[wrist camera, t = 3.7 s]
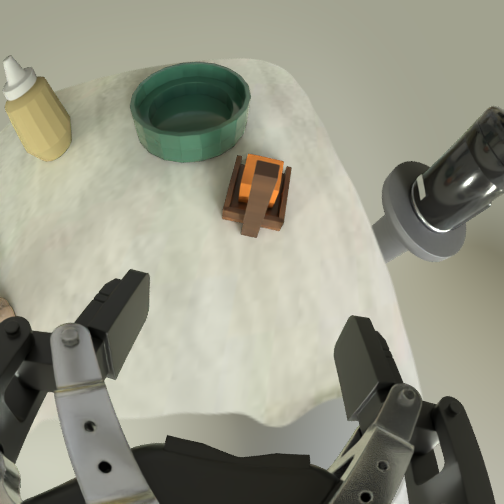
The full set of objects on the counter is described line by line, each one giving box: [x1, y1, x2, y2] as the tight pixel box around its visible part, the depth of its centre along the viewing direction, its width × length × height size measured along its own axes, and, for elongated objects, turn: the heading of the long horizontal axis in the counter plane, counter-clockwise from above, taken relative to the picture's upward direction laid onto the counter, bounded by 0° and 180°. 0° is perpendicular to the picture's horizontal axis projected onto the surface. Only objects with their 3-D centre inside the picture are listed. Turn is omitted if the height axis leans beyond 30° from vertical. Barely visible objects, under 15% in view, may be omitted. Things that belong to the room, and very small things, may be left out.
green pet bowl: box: [130, 62, 251, 163], centre depth 34 cm, size 15×15×6 cm
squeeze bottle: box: [3, 55, 72, 162], centre depth 25 cm, size 8×8×18 cm
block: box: [238, 154, 284, 208], centre depth 32 cm, size 4×4×4 cm
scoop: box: [222, 155, 291, 238], centre depth 28 cm, size 9×7×12 cm
